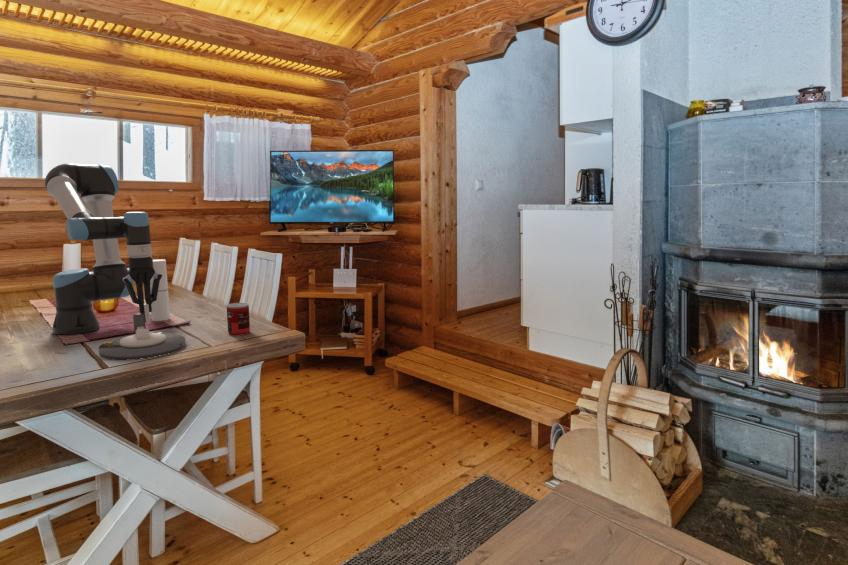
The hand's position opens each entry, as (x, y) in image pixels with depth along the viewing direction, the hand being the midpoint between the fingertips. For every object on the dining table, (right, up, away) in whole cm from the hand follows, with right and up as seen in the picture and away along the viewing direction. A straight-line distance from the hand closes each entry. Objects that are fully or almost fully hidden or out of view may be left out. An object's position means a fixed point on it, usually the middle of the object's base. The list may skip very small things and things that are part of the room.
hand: (146, 321), depth 190 cm
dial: (+2, -6, -7) cm, 10 cm away
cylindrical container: (-12, -2, +34) cm, 36 cm away
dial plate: (+4, -8, -9) cm, 13 cm away
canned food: (+29, -5, +12) cm, 32 cm away
